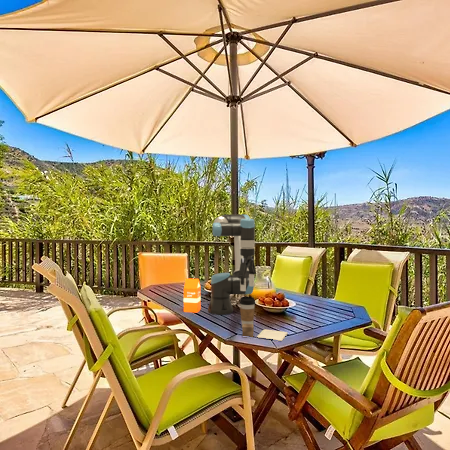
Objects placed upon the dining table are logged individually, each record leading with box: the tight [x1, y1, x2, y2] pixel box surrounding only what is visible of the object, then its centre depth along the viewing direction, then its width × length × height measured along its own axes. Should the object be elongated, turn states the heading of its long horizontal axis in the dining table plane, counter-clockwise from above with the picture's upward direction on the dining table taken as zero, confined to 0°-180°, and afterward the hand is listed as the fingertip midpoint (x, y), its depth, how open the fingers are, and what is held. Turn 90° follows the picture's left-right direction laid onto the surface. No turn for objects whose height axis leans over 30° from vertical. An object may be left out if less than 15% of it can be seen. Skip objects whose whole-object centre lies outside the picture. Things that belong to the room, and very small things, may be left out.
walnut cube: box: [241, 323, 255, 338], centre depth 160 cm, size 5×5×5 cm
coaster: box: [256, 329, 288, 342], centre depth 159 cm, size 12×12×1 cm
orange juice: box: [183, 277, 202, 314], centre depth 205 cm, size 8×9×20 cm
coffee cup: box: [239, 296, 256, 327], centre depth 174 cm, size 8×8×15 cm
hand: (247, 288), depth 174 cm, fingers open, 13 cm apart
